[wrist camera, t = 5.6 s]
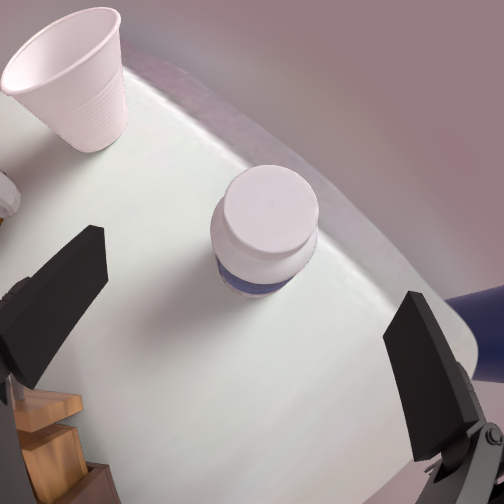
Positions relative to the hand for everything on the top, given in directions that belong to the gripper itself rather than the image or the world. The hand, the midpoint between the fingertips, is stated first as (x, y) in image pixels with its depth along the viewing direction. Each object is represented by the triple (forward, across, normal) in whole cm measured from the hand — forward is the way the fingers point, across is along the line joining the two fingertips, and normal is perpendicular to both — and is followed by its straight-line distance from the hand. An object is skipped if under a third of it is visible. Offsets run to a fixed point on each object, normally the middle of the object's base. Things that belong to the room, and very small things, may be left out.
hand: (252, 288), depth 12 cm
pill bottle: (+9, 0, -4) cm, 10 cm away
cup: (+16, -16, +2) cm, 23 cm away
